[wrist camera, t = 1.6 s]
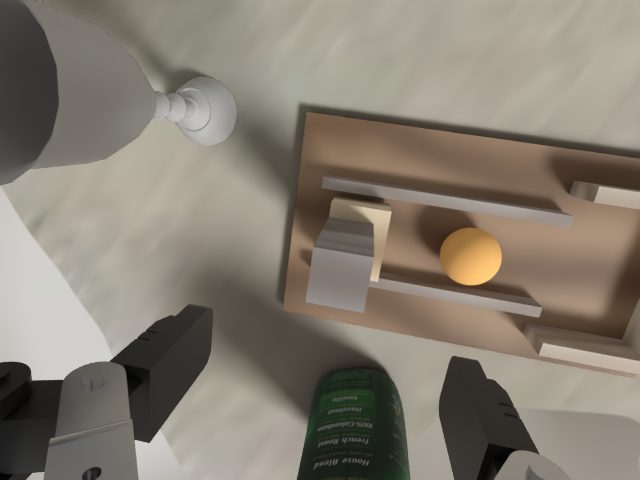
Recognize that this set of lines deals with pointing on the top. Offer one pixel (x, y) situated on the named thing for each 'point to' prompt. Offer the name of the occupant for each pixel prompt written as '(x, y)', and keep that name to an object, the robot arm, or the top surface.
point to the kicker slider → (348, 253)
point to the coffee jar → (355, 429)
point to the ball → (470, 256)
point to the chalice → (86, 94)
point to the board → (493, 217)
